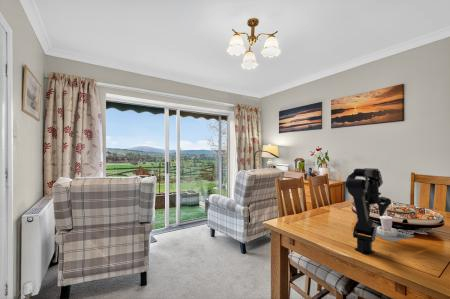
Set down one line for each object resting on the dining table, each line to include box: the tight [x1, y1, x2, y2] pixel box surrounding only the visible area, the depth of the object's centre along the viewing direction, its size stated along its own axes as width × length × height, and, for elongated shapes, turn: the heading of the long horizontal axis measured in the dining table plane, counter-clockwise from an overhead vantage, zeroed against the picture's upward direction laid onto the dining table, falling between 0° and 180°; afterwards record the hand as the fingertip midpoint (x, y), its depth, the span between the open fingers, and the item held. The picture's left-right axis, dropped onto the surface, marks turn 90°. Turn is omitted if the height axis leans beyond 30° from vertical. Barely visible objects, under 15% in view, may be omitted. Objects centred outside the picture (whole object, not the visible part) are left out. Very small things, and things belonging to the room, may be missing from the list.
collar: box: [376, 225, 398, 237], centre depth 128 cm, size 10×10×2 cm
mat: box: [375, 227, 414, 243], centre depth 128 cm, size 20×18×1 cm
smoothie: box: [379, 209, 394, 232], centre depth 128 cm, size 6×6×14 cm
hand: (374, 217), depth 120 cm, fingers open, 9 cm apart
